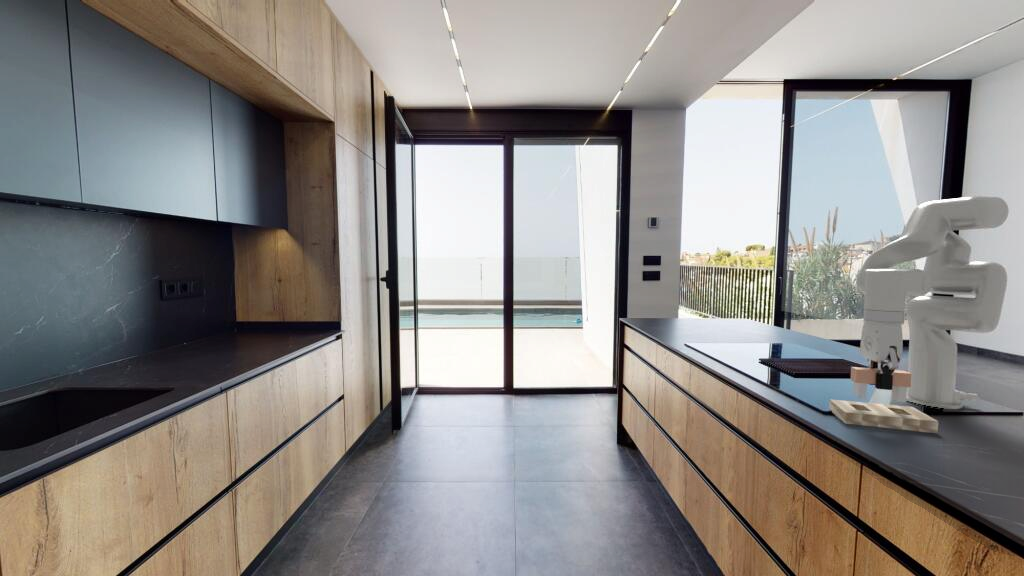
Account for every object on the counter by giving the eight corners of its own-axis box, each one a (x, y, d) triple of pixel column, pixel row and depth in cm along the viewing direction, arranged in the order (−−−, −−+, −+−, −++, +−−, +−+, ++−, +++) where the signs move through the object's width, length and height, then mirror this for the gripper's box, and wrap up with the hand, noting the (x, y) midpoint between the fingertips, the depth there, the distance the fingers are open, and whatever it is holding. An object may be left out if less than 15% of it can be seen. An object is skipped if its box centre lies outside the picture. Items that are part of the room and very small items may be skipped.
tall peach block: (902, 399, 99) (904, 370, 99) (909, 403, 96) (911, 373, 96) (849, 394, 103) (851, 366, 103) (855, 397, 100) (856, 369, 100)
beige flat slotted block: (912, 417, 102) (912, 406, 101) (937, 433, 92) (938, 421, 92) (829, 409, 108) (829, 399, 108) (845, 423, 99) (845, 412, 99)
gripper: (850, 313, 108) (847, 377, 108) (882, 320, 92) (878, 394, 93) (884, 314, 105) (881, 380, 106) (922, 321, 90) (918, 398, 91)
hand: (879, 386), depth 99 cm, fingers closed on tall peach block, 3 cm apart
